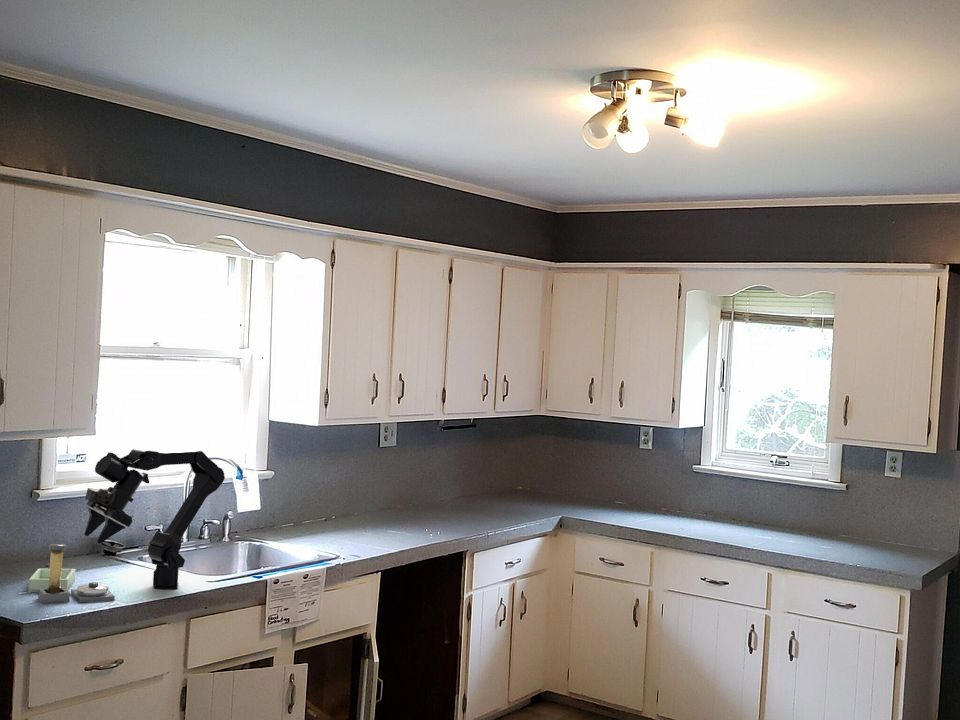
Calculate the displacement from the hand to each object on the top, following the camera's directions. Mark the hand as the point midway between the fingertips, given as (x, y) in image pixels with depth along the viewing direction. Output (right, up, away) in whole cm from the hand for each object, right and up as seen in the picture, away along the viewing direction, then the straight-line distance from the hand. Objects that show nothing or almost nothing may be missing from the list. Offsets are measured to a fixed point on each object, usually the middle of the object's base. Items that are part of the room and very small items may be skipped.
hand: (91, 539), depth 272 cm
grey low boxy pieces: (-3, -16, -3) cm, 16 cm away
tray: (-15, -15, +9) cm, 23 cm away
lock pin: (-8, -15, -6) cm, 18 cm away
